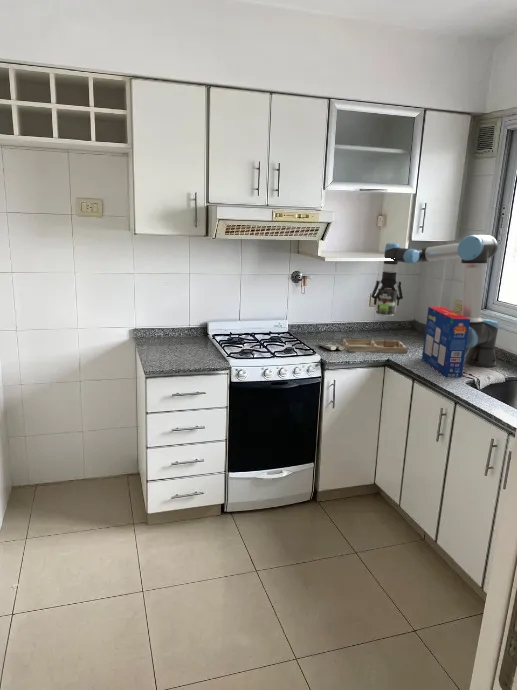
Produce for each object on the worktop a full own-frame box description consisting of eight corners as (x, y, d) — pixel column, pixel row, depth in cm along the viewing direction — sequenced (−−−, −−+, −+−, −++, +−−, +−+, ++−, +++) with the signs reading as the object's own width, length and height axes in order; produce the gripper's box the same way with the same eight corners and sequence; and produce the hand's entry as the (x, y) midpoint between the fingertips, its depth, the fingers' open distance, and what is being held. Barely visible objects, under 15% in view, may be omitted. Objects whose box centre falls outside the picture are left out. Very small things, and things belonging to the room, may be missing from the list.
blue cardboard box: (461, 377, 243) (470, 319, 235) (444, 377, 242) (453, 318, 235) (436, 360, 269) (443, 307, 262) (421, 359, 269) (428, 306, 261)
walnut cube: (393, 350, 282) (394, 342, 281) (385, 349, 282) (386, 341, 281) (391, 347, 286) (392, 339, 285) (383, 347, 286) (384, 339, 285)
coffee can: (391, 316, 288) (394, 291, 284) (373, 314, 292) (376, 289, 289) (396, 313, 297) (399, 289, 293) (378, 311, 301) (381, 287, 297)
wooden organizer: (406, 354, 277) (407, 348, 276) (347, 352, 276) (347, 346, 275) (398, 346, 292) (399, 340, 291) (342, 344, 292) (342, 338, 291)
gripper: (408, 271, 292) (403, 310, 298) (368, 269, 291) (364, 308, 297) (411, 273, 284) (407, 312, 290) (370, 271, 284) (366, 311, 290)
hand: (385, 310), depth 294 cm, fingers closed on coffee can, 10 cm apart
